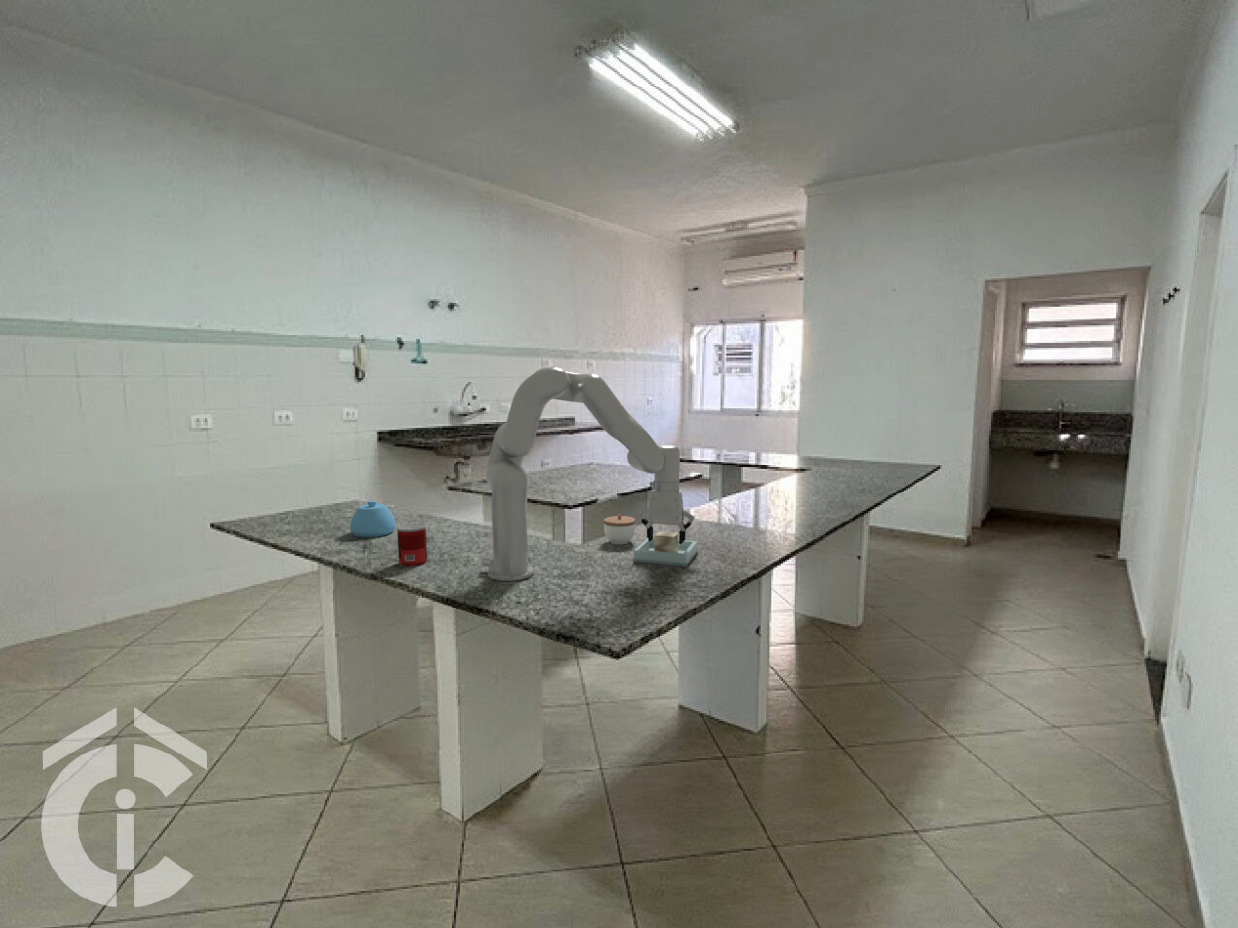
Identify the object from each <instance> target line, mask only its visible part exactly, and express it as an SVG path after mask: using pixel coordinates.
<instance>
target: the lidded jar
mask: <svg viewBox="0 0 1238 928" xmlns="http://www.w3.org/2000/svg"><path fill="white" fill-rule="evenodd" d="M636 522H637V520H636V519H635V517H632V516H624V515H622V514H620V513H619V514H617V515H615V516H614V515H613V516H608V517H606V518H603V530H604V534H605V537H606V539H607V540H608V542H609V541H610V543H611V544H613V545H626V544H629V543H630V541H631V540H632V539H633V538H634V536H635V533H636V532H635V531H636Z"/></svg>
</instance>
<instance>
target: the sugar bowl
mask: <svg viewBox="0 0 1238 928" xmlns="http://www.w3.org/2000/svg"><path fill="white" fill-rule="evenodd" d="M366 503H367V504H363V505H360V506H358V508H357V509H356V511H355V512H354V513H353V516H352V517H351V520H350V525H349V530H350V532H351V533H352V534H353V535H354V536H355V537H357V538H376V537H377V538H378V537H382V536H383V537H385V536H386V535H390V534H392V533H393V531H394V530H395V529H396V525H397V524H396V520H395V517H394V515H393V512H391V510H390V509H389V508H388V507H387V505H385V504H384V503H377V500H368V501H367V502H366Z"/></svg>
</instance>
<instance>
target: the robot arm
mask: <svg viewBox="0 0 1238 928" xmlns="http://www.w3.org/2000/svg"><path fill="white" fill-rule="evenodd" d="M551 400H558V401H563V402H564V401H565V402H571V403H572V402H573V403H580V404H584V406H585V407H586V409H588V411H589V412H590V414H591V415H592V416H593V417H594V419H595V420H596V421H597V423H598V424H599V426H600V427H601V429H603V430H604V432H606V434H608V435H609V436H610V437H612V438H613V439H615V440H617V441H618V442H620V443H621V444H622V445H623V446H624V447H625V448H626V449H627V450H628V451H627V455H626V459H627V463H628V464H629V466H630V467H632V468H633V469H635V470H637V471H639V472H643V473H646V474H654V477H653V478H654V479H653V481H649V487H653V489H652V490H651V492H650V497H649V505H648V506H649V507H648V508H646V509H645V510H642V511H640V512H639V513H638V518H639V519H640V522H641V523H642V524H643V526H645V529H646V539H647V538H648V541H651V540H653V538H654V526H653V525H663V526H666V525H667V526H678V528H679V529H680V530H679V532H678V540H679V544H682V543H683V542H684V541H685V540H686V536H687V535H686V534H687V533H686V531H687V529H688V528H690V527H691V526H692V524H693V522H695V521H694V520H695V518H696V517H695V515H692V514H691V513H689V512H688V511H686V510H685V509H684V501H683V494H682V491H681V490H680V466H681V462H680V461H681V459H680V457H681V449H680V447H679V446H677V445H674V444H673V445H671V444H660V445H658V443H656V441H655V440H654V439H653V438H652V436H651V435H650V433H648V431H646V429H645V428H644V427H643V425H641V424H640V423H639V422H638V420H636V419H635V418H634V417H633V416H632V415H631V414H630V413H629V412H628V411H627V410H626V408H625V406H624V405H623V404H622V403H621V402H620V400H619V398H618V397H617V396H616V394H614V392H613V390H612V389H611V387H609V385H608V384H607V383H606V381H605V379H603V378H602V377H601V376H599V375H598V374H595V373H577V372H570V371H565V370H564V369H562V368H560V367H556V366H550V367H542V368H540V369H537V370H536V371H535V372H534V373H532V374H531V375H530V376H528V377H527V378H526V379H525V380H524V381H523V382H522V383H521V384H520V385H519V387H518V388H517V390H516V391H515V394H514V396H513V398H512V401H511V404H510V408H509V412H508V415H507V418H506V421H505V422H504V423H502V424H501V425H500V426H499V427H498V428H497V430H496V432H495V434H494V437H493V441H492V444H491V449H490V453H489V457H488V462H487V465H486V472H485V477H486V481H487V483H488V485H489V486H490V487H491V526H492V527H491V530H492V532H491V533H492V557H489V556H483V557H482V561H481V566H485V567H489V569H488V570H487V576H488V578H490V579H492V580H494V581H495V580H496V581H499V582H503V581H504V582H513V581H519V580H521V581H522V580H525V579H528V578H531V577H532V576H533V575H534V574H535V572H534V571H535V569H534V567H533V566H531V565H529V548H528V546H529V545H528V544H529V543H528V541H529V539H528V511H527V510H528V506H527V505H528V493H529V492H528V491H529V480H528V476H527V473H526V471H525V469H524V468H523V467H522V463H523V458H524V457H527V456H528V455H529V454H530V453H531V452H532V451H533V448H534V445H535V441H536V437H537V433H538V432H537V431H538V427H539V425H540V421H541V417H542V413H543V411H544V409H545V407H546V405H547V404H548V403H549V402H550V401H551ZM645 515H648V518H646V517H645ZM684 517H685V518H687V519H688V520H687V523H684Z"/></svg>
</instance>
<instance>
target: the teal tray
mask: <svg viewBox="0 0 1238 928" xmlns="http://www.w3.org/2000/svg"><path fill="white" fill-rule="evenodd" d="M697 553H698V541H697V540H687V539H685V541H684V542H683V543H682V544H679V539H678V553H671V552H659V551H654V537H653V540H651V541H648V538H647V537H646V538H645V540H643V541H642V542H641V543H640V544H639V545H638V546H636V548H635V549H634V550H633V562H634V563H641V564H643V563H644V564H654V565H665V566H673V567H674V566H675V567H684V568H685V567H688V566H689V564H690V563H691V562H692V560H693V558H695V556H696V555H697Z"/></svg>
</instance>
